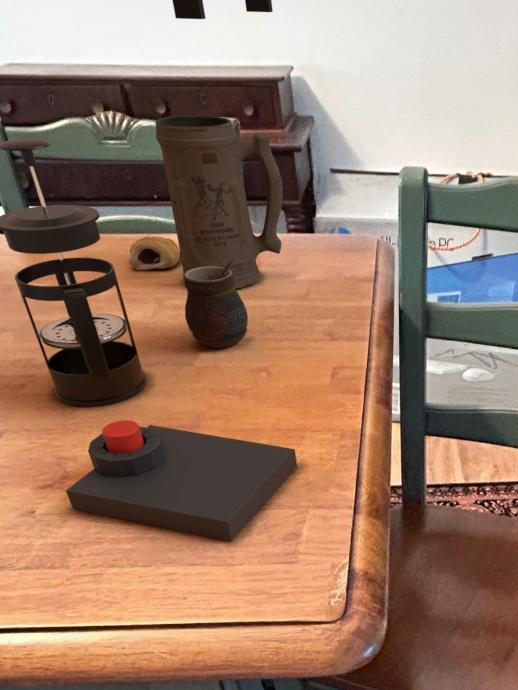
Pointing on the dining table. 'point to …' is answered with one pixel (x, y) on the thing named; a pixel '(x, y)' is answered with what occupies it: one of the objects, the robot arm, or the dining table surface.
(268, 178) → the beer stein
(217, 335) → the mate gourd
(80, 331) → the french press
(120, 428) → the button
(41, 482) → the dining table surface
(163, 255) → the pastry
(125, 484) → the scale
